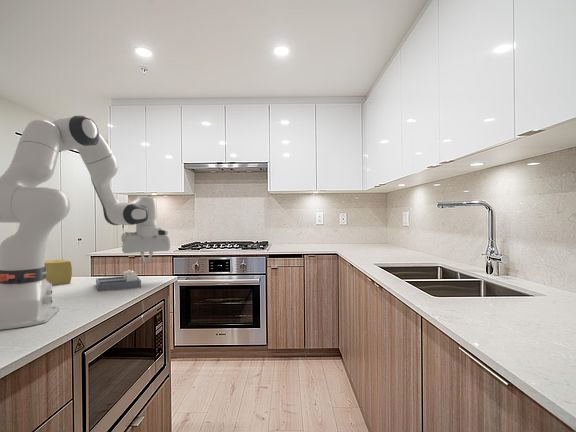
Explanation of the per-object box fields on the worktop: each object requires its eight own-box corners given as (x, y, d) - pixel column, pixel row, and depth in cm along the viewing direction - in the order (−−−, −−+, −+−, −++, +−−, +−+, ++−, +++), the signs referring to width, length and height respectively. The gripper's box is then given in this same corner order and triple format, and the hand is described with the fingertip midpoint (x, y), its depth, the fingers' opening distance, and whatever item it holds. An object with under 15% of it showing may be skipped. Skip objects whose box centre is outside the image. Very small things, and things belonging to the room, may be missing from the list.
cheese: (36, 283, 153) (36, 260, 153) (64, 280, 161) (64, 258, 161) (43, 287, 146) (43, 263, 146) (72, 283, 154) (72, 260, 154)
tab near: (137, 283, 148) (137, 273, 148) (126, 284, 146) (127, 274, 146) (136, 281, 151) (136, 272, 151) (125, 282, 149) (126, 272, 149)
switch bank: (141, 287, 147) (141, 280, 147) (97, 291, 139) (97, 284, 139) (136, 281, 159) (136, 275, 159) (96, 284, 151) (96, 278, 151)
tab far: (134, 279, 155) (134, 270, 155) (124, 280, 153) (124, 271, 153) (133, 278, 158) (133, 269, 158) (123, 279, 155) (123, 270, 155)
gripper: (122, 232, 151) (122, 264, 151) (171, 231, 162) (170, 261, 162) (120, 231, 156) (120, 262, 157) (167, 230, 167) (167, 259, 167)
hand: (146, 261), depth 159 cm, fingers closed
